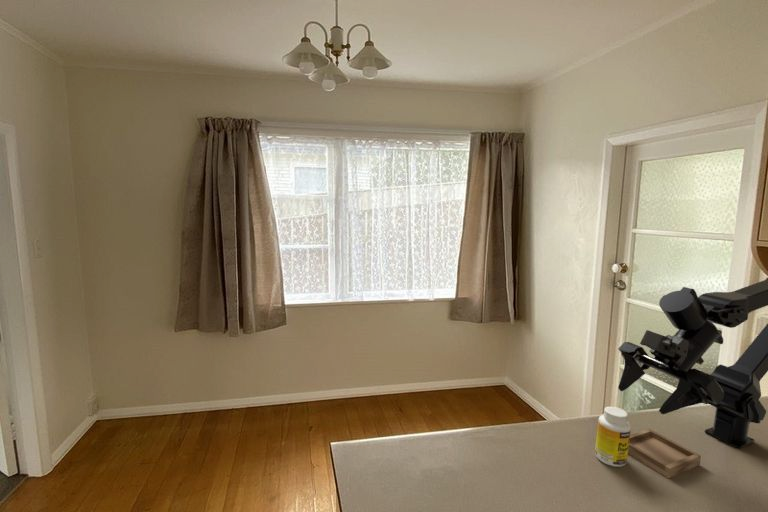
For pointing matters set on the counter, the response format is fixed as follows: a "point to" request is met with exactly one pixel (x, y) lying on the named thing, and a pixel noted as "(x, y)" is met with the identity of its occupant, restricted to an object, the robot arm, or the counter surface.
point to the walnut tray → (661, 453)
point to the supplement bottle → (613, 437)
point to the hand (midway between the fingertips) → (639, 400)
